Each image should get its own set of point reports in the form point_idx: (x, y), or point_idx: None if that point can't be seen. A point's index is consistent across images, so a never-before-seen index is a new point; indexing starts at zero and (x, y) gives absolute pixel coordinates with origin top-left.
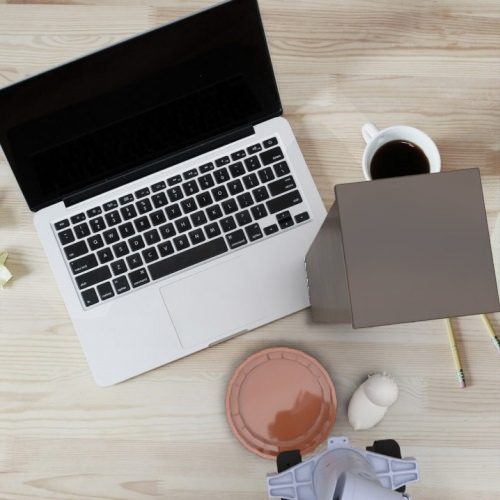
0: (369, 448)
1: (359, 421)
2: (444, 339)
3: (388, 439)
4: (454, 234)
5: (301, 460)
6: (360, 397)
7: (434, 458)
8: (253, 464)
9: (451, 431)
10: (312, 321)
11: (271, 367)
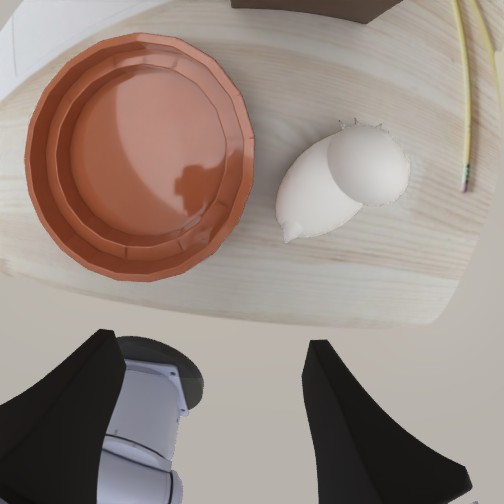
0: (330, 391)
1: (299, 223)
2: (460, 110)
3: (455, 497)
4: None
5: (97, 369)
6: (314, 170)
7: (393, 285)
8: None
9: (428, 252)
10: (231, 3)
11: (129, 88)
